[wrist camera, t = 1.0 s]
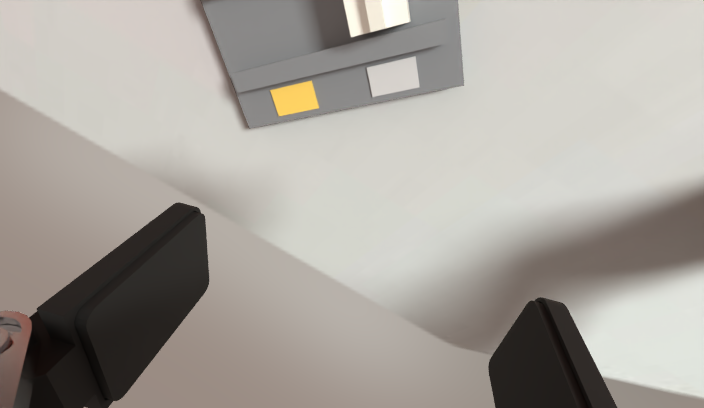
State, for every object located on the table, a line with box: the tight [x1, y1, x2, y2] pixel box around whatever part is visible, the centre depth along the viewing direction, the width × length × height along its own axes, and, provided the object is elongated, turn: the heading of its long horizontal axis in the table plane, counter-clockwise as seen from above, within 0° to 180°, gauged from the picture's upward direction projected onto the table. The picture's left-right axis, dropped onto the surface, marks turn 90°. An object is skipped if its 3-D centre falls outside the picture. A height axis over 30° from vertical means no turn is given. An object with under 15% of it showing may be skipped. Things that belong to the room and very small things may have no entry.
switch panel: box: [201, 0, 464, 129], centre depth 26 cm, size 20×16×4 cm
